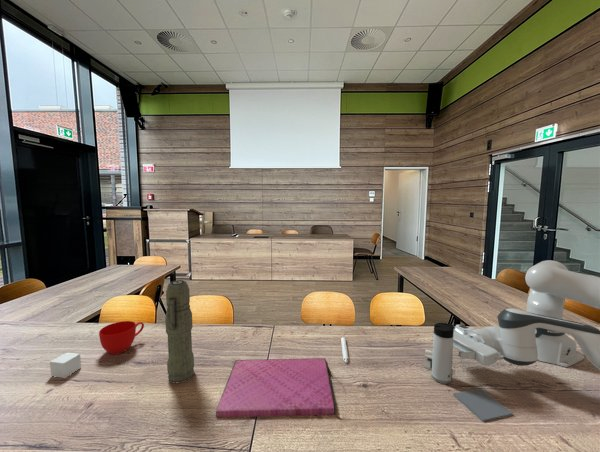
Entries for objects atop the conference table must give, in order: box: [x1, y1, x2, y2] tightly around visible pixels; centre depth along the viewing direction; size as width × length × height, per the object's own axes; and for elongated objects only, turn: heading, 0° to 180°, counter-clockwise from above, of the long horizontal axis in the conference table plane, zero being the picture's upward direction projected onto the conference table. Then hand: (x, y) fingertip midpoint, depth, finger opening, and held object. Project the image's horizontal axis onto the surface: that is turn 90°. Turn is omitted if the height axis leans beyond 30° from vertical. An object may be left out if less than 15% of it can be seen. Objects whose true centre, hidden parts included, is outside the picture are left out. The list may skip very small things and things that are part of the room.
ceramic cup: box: [98, 320, 145, 355], centre depth 115 cm, size 13×17×10 cm
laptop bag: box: [215, 357, 346, 418], centre depth 92 cm, size 40×4×27 cm
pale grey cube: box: [49, 352, 82, 379], centre depth 99 cm, size 6×6×6 cm
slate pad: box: [452, 388, 514, 423], centre depth 83 cm, size 11×11×1 cm
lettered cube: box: [423, 349, 433, 371], centre depth 103 cm, size 5×5×5 cm
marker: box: [340, 336, 349, 364], centre depth 113 cm, size 18×2×2 cm, turn 174°
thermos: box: [164, 279, 195, 384], centre depth 96 cm, size 9×12×35 cm
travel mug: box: [431, 322, 456, 385], centre depth 95 cm, size 6×7×20 cm
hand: (448, 348), depth 95 cm, fingers open, 8 cm apart
